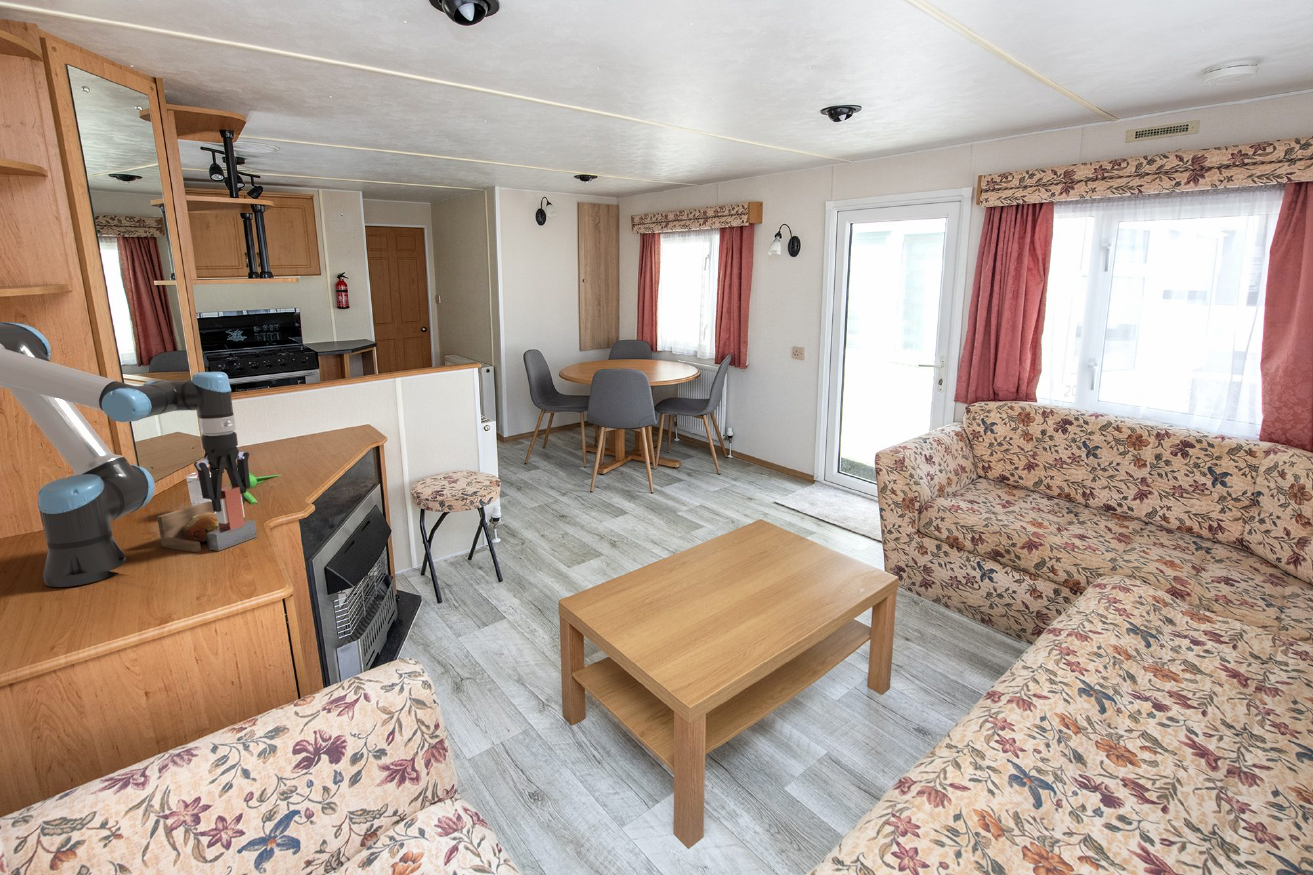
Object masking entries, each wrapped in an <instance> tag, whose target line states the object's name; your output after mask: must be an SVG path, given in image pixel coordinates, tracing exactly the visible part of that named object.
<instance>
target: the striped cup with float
mask: <svg viewBox="0 0 1313 875" xmlns="http://www.w3.org/2000/svg"><path fill="white" fill-rule="evenodd" d="M209 472H210V470H209ZM210 477H211V473H210ZM184 478H185V479H186V484H187V487H188V493H189V498H190V502H191V506H195V505H198V504H201V503H205V502H208V501H211V499H204V498H203V497H202V492H201V486H200V481H199V476H198V471H197V472H192V473H190V474H186V475H185V476H184ZM211 502H212V501H211ZM215 513H216V512H215Z"/></svg>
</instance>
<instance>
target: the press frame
mask: <svg viewBox="0 0 1313 875" xmlns="http://www.w3.org/2000/svg"><path fill="white" fill-rule="evenodd" d="M208 512H210V513H215V512H214V511H213V507H212V502H211V501H208V502H205V503H201V504H198V505H195V506H192V505H191V506H187V507H185V508H182V509H178V510H175V511H171V512H168V513H164V514H161V515H158V516H157V517H156V518H157V524H158V531H159V535H160V541H161V546H163V548H168V549H174V550H179V551H185V552H190V553H191V552H192V553H199V552H201V551H202V547H201V542H197V541H190V540H187V539H186V537H185V534H184V527H185V525H186V524H187V522H188V521H189V520H191V518H192V517H193V516H196V515H200V514H203V513H208Z"/></svg>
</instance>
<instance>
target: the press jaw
mask: <svg viewBox="0 0 1313 875" xmlns="http://www.w3.org/2000/svg"><path fill="white" fill-rule="evenodd" d="M221 498H222V499H224V500H225V506H226V513H227V520H228V523H226V524H223V523H219V529H217V530H214V531H211V532H208V533H206V536H207V541H206V542H207V548H208V550H210V551H216V552H217V551H218V552H220V551H223V550H225V549H227V548H230V547H233V546H236V545H238V544H242V543H245V542H246V541H248V540H252V539H255V538H257V537H258V533H257V525H256V524H257V523H256V520H249V519H245V517H244V516H245V515H244V516H243V509H244V508H243V509H242V502H241V495H240V487H235V486H229V485H226V486H223V487H222V490H221Z"/></svg>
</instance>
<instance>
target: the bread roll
mask: <svg viewBox="0 0 1313 875" xmlns="http://www.w3.org/2000/svg"><path fill="white" fill-rule="evenodd" d="M217 529H219V523H217V516H216V513H210V512H208V513H203V514H200V515H196V516H193V517H192V518H191V520H189V521H188V522H187V524H186V525H185V527H184V534H185V537H186V540H190V541H197V542H200V543H201V542H207V536H206V533H208V532H211V531H214V530H217Z"/></svg>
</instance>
